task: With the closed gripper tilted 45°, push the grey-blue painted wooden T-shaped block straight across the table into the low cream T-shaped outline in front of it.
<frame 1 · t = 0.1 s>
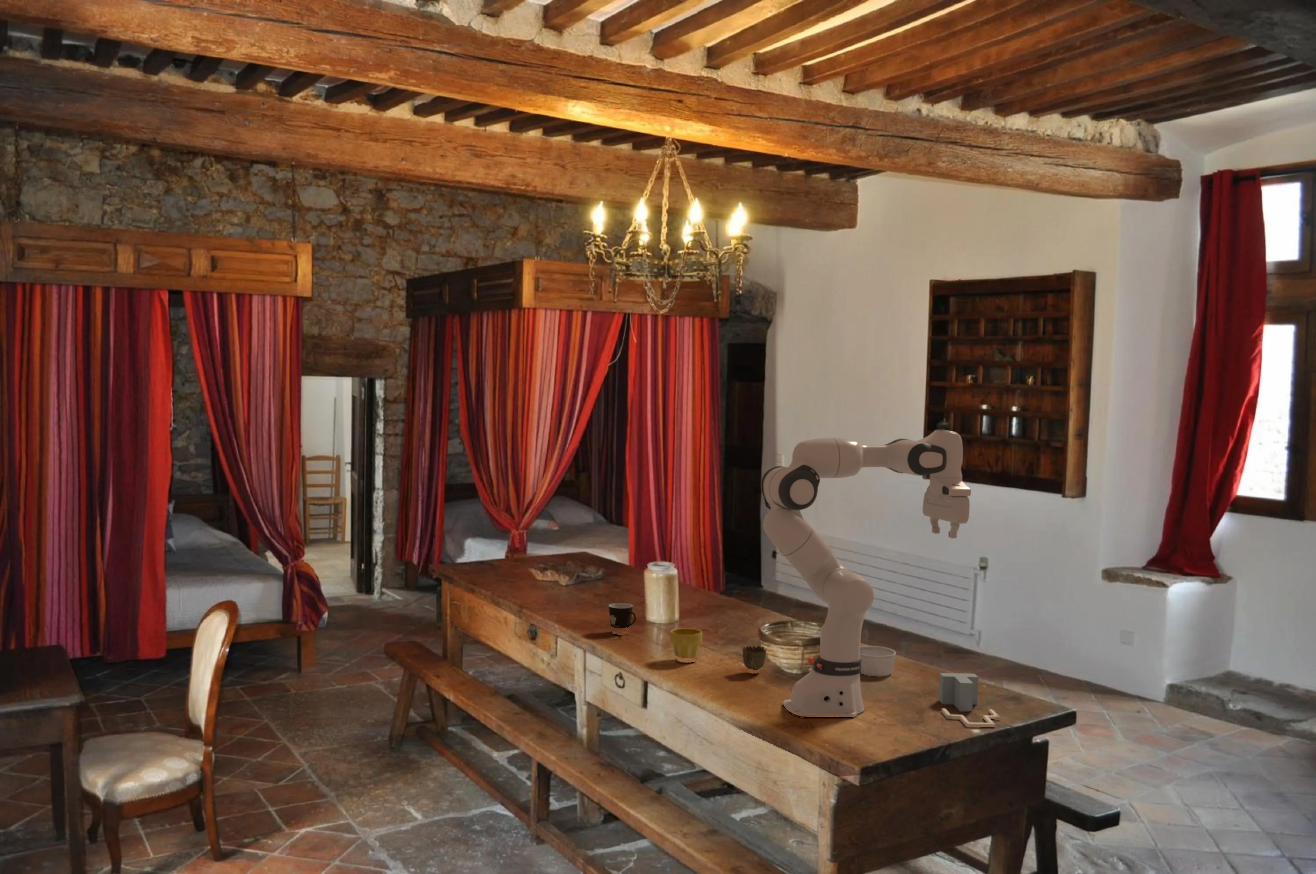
hand: (944, 535, 305), 48 cm above the table, tool pointing down, fingers open, 8 cm apart
coffee mug: (621, 634, 382), on the table
cup: (753, 674, 334), on the table
t block: (961, 706, 304), on the table
t outline: (973, 719, 292), on the table
plant pot: (685, 661, 347), on the table
ramekin: (873, 673, 338), on the table
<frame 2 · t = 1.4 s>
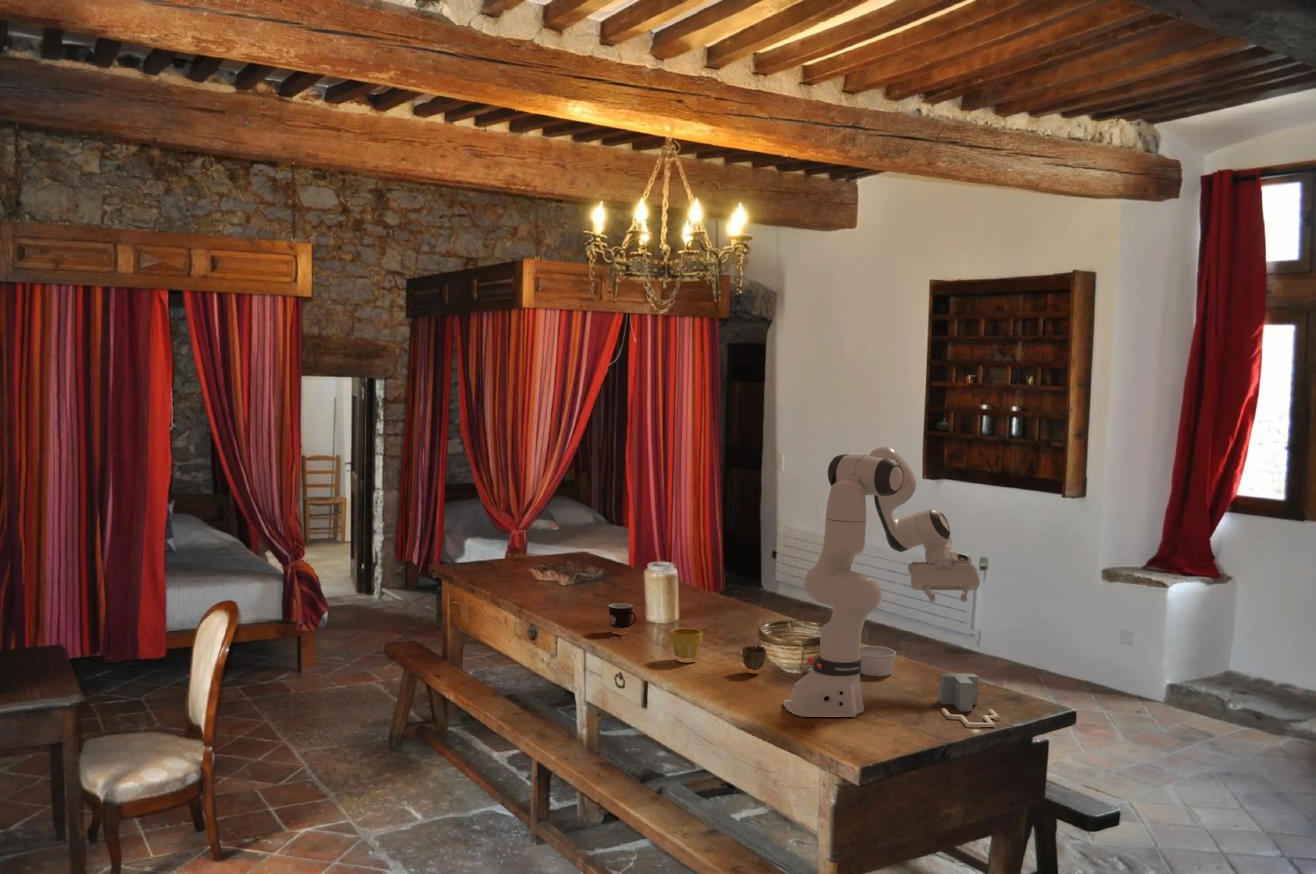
hand: (948, 600, 321), 26 cm above the table, tool tilted 45°, fingers open, 8 cm apart
nothing on the table moved.
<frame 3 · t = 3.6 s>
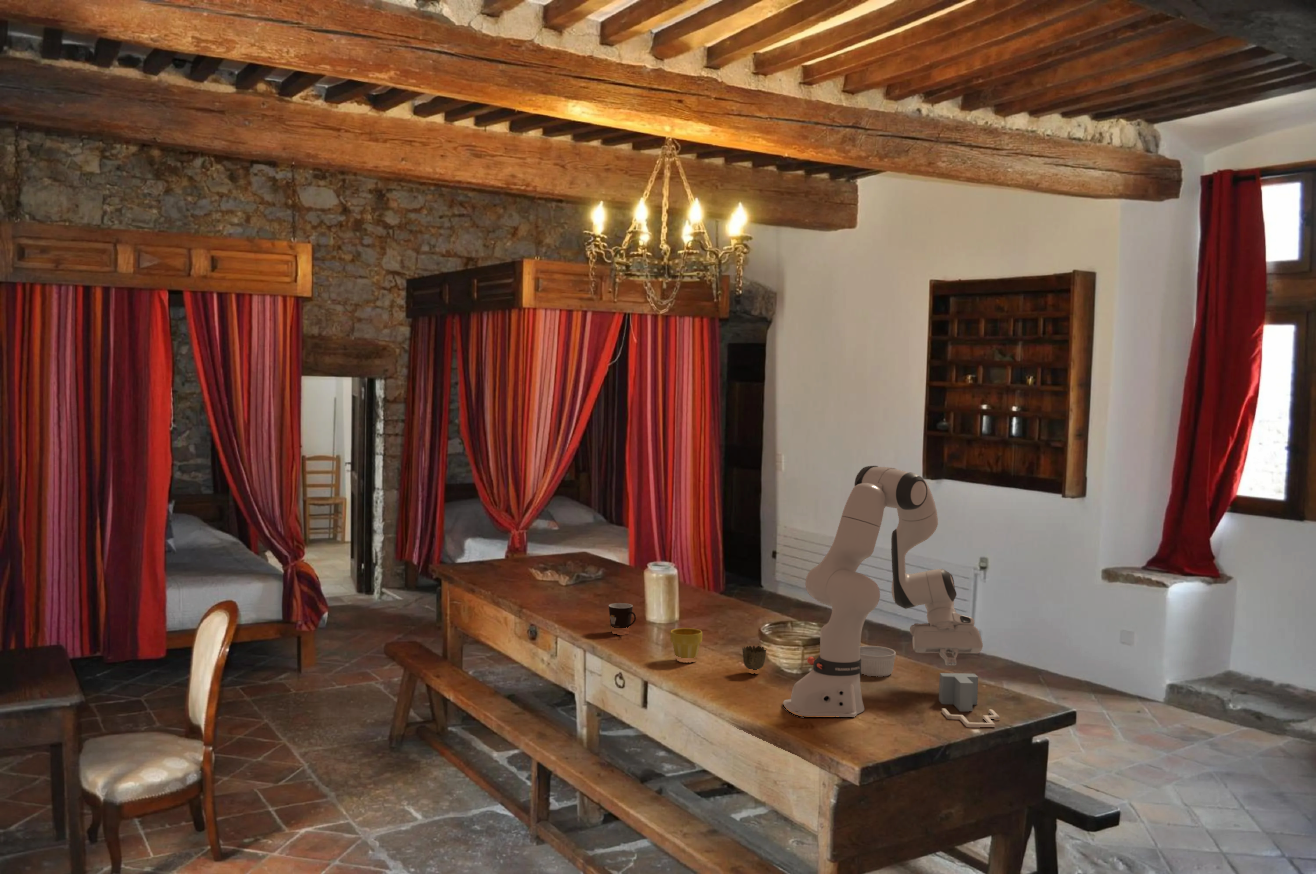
hand: (951, 664, 316), 9 cm above the table, tool tilted 45°, fingers closed
nothing on the table moved.
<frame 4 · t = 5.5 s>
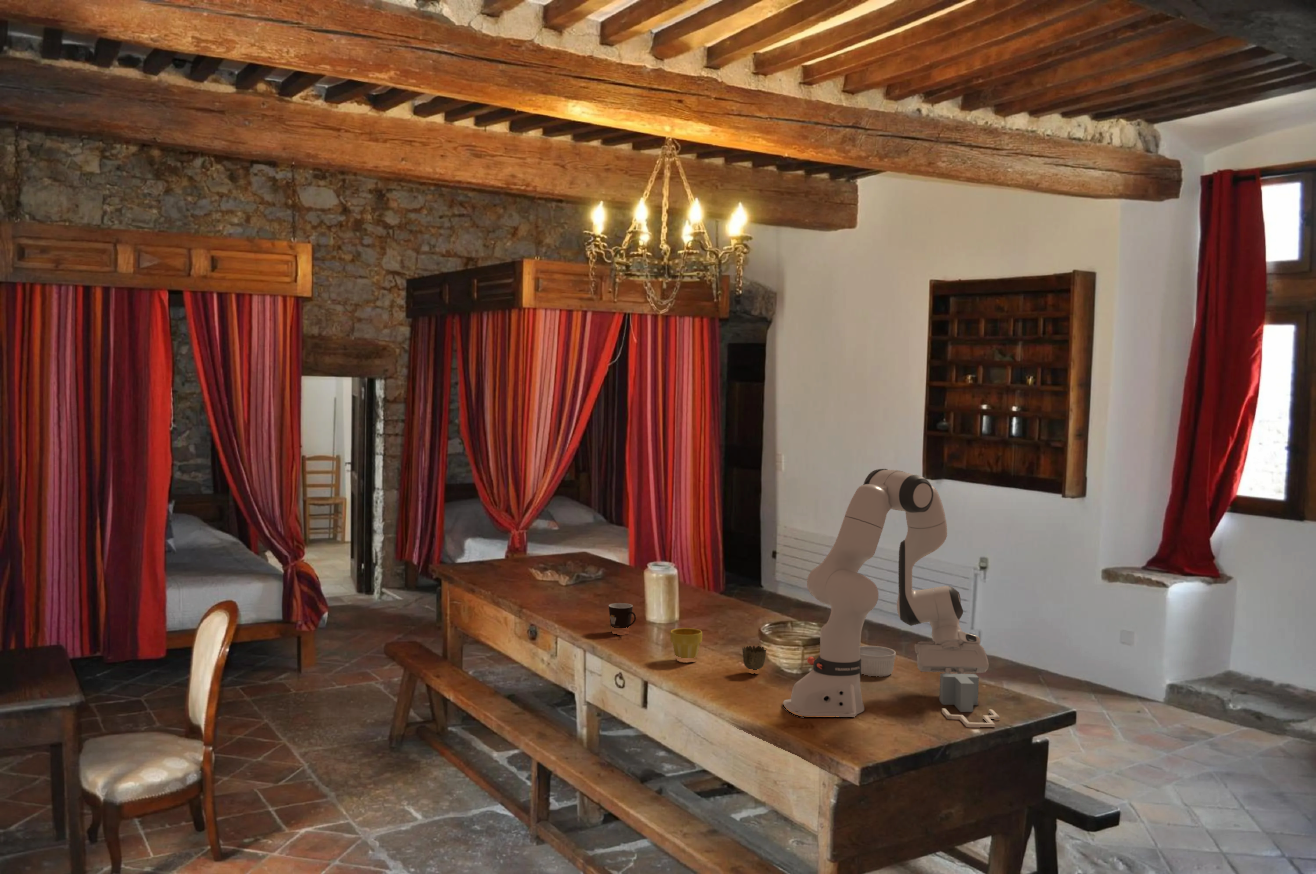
hand: (956, 684, 309), 5 cm above the table, tool tilted 45°, fingers closed
nothing on the table moved.
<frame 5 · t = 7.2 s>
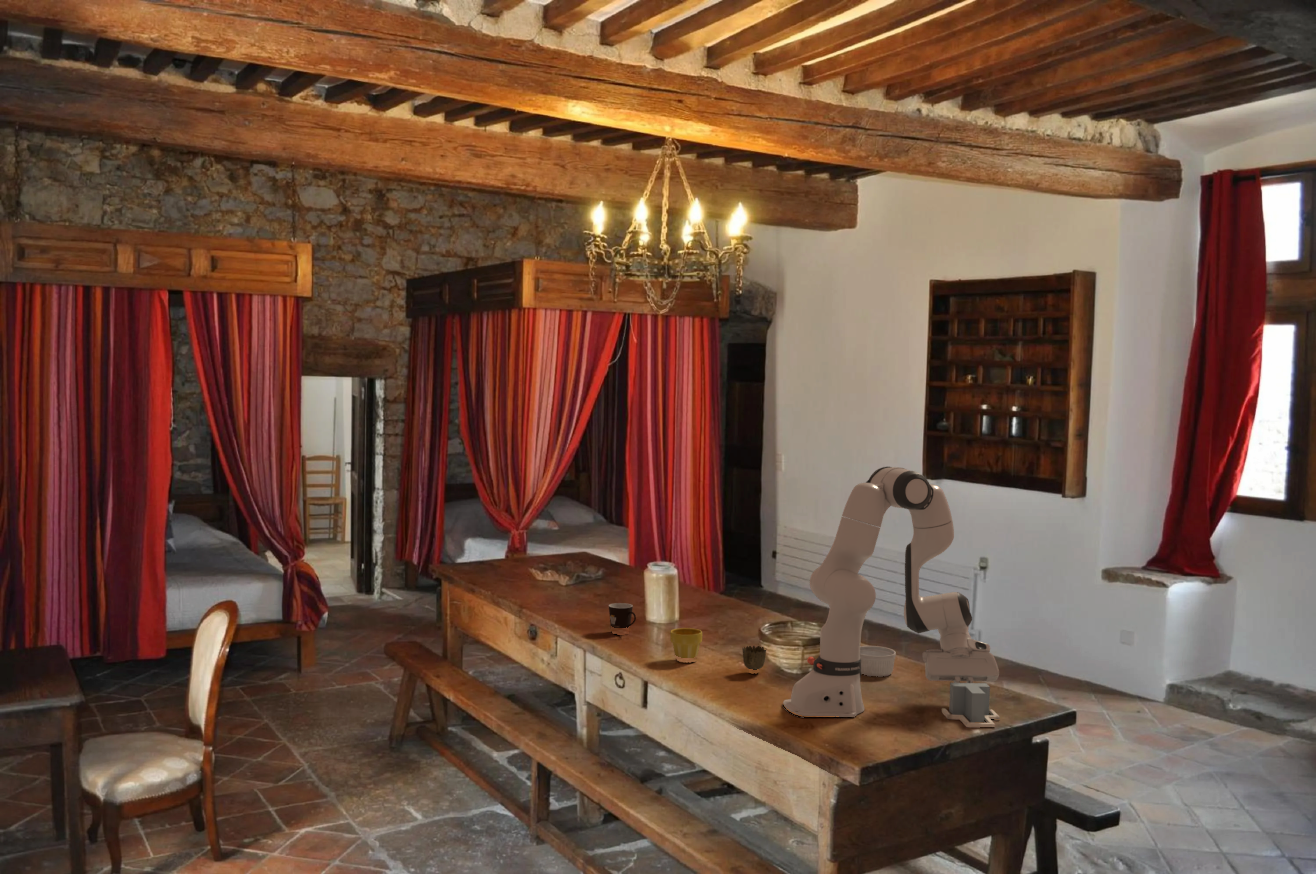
hand: (966, 693, 300), 5 cm above the table, tool tilted 45°, fingers closed, pressing on t block
t block: (972, 716, 294), on the table, touching gripper
everything else where it was.
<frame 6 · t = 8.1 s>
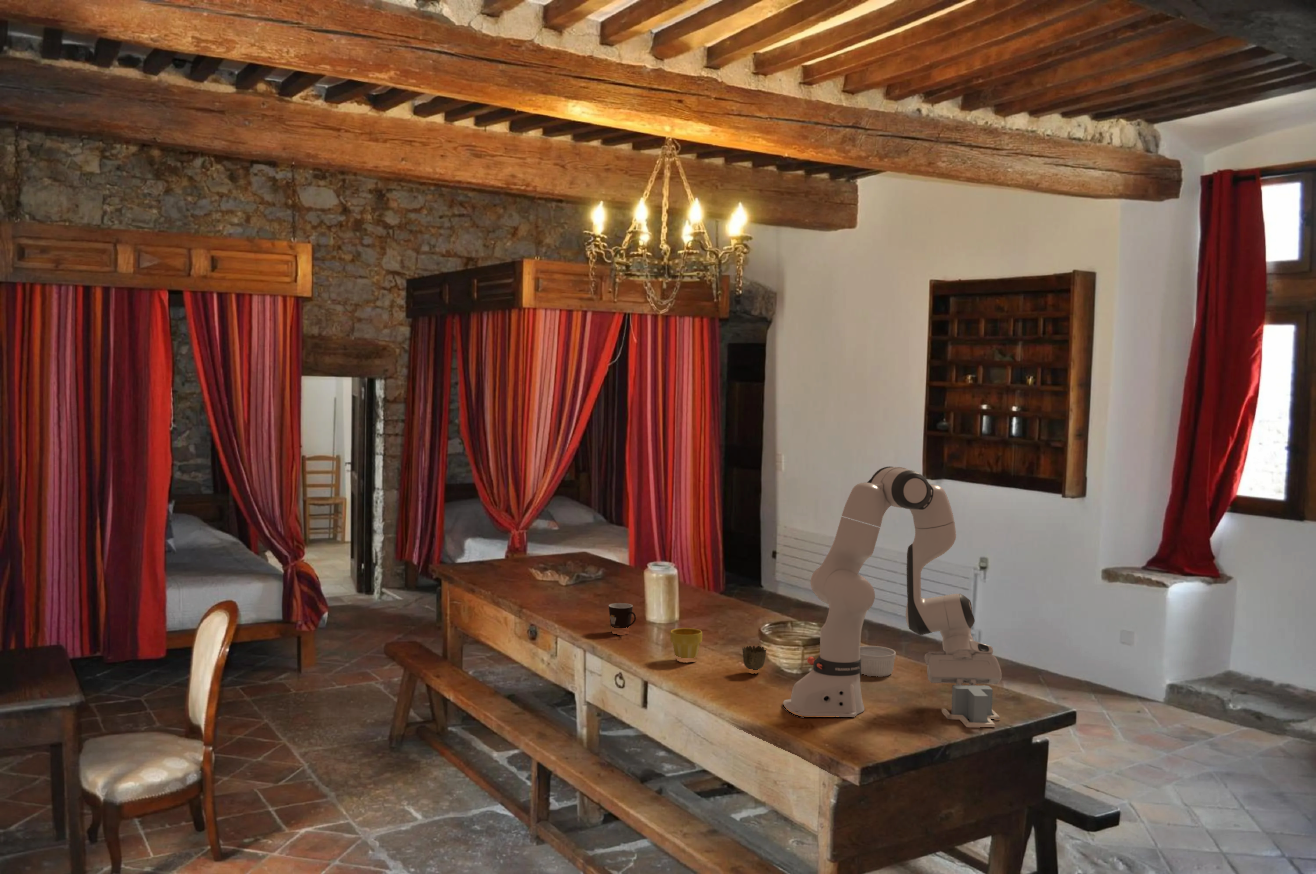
hand: (968, 695, 297), 5 cm above the table, tool tilted 45°, fingers closed, pressing on t block
t block: (974, 719, 292), on the table, touching gripper
everything else where it was.
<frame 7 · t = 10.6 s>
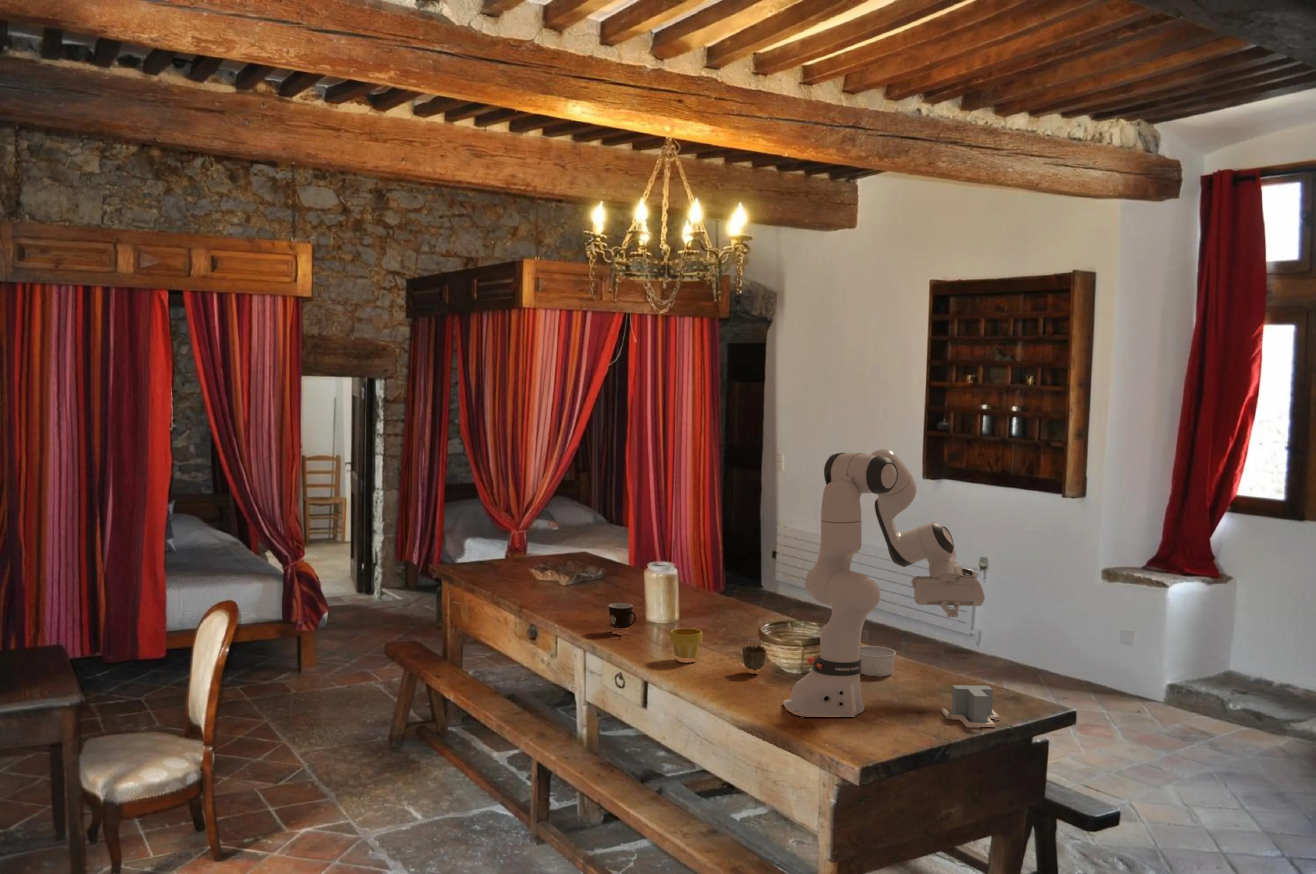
hand: (952, 616, 314), 23 cm above the table, tool tilted 45°, fingers closed
t block: (974, 719, 292), on the table
everything else where it was.
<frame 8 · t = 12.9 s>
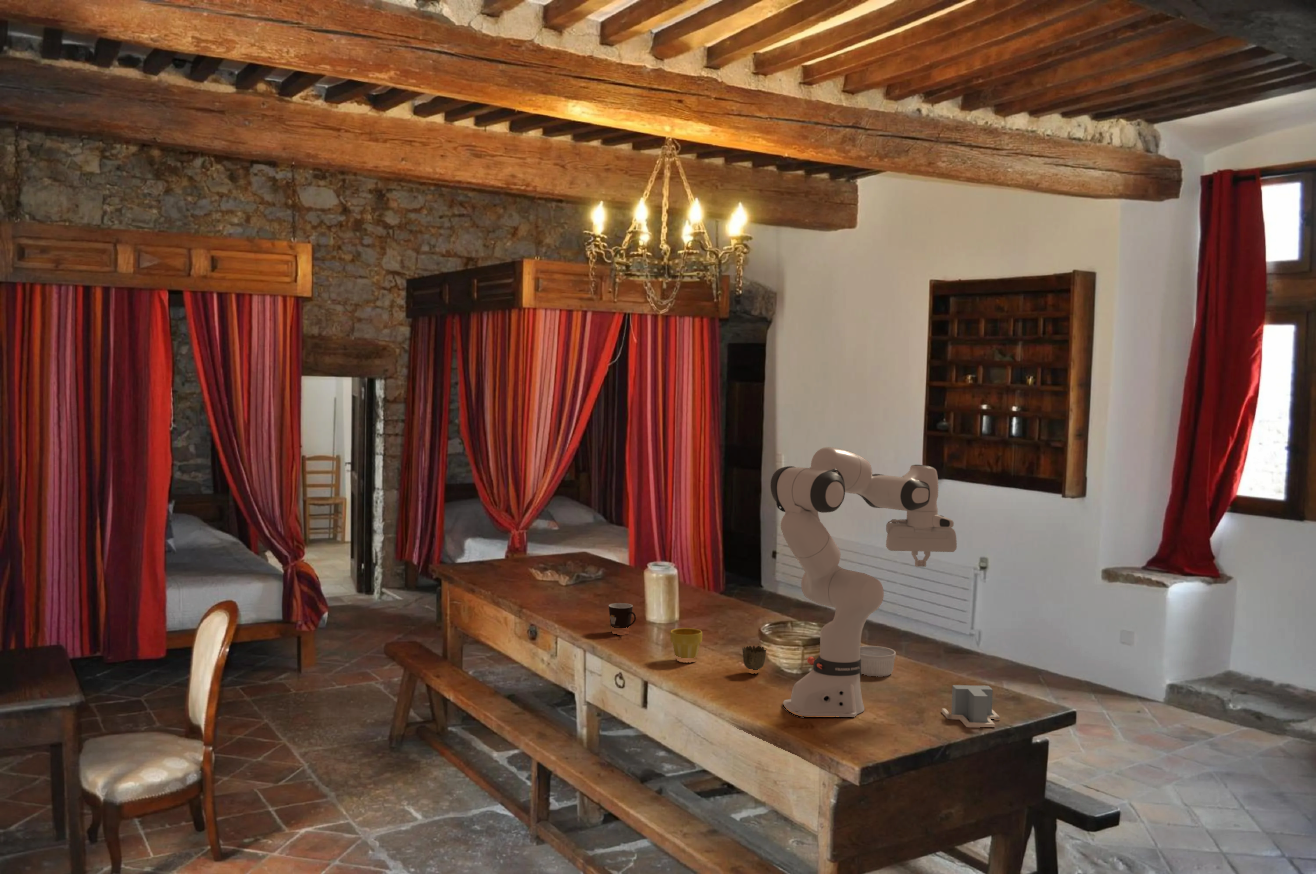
hand: (920, 566, 317), 37 cm above the table, tool pointing down, fingers closed
nothing on the table moved.
at the end: t block 0.5 cm off-centre on the t outline, point 0.0 cm above the t outline's base; t block tilted 0° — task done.
